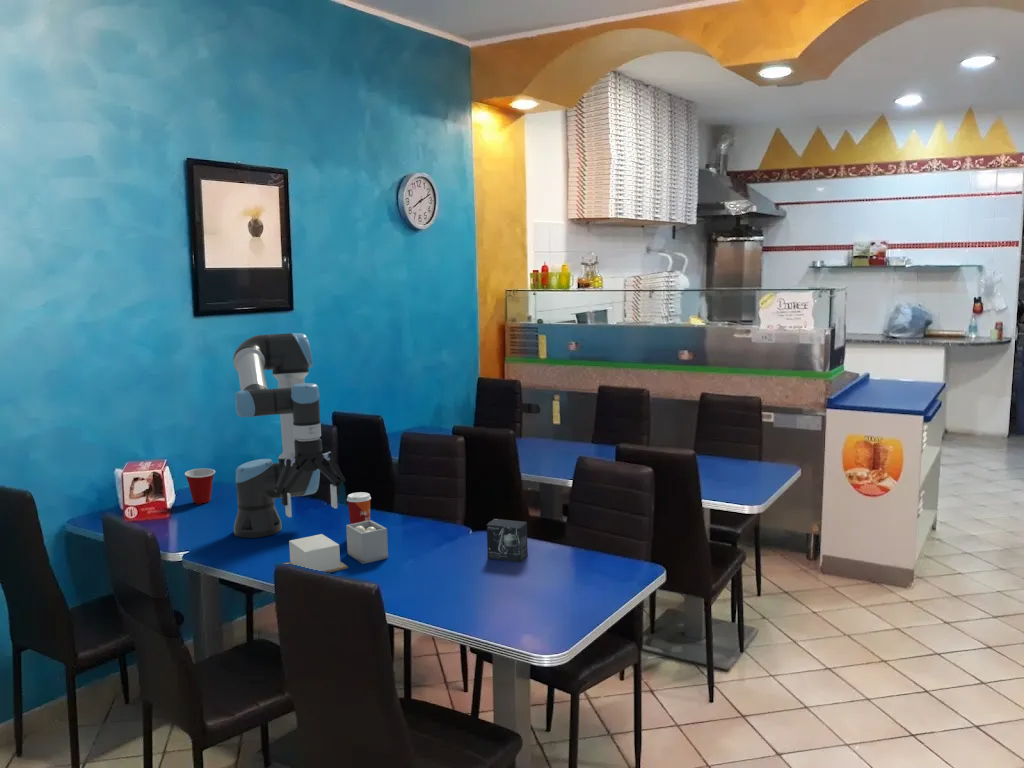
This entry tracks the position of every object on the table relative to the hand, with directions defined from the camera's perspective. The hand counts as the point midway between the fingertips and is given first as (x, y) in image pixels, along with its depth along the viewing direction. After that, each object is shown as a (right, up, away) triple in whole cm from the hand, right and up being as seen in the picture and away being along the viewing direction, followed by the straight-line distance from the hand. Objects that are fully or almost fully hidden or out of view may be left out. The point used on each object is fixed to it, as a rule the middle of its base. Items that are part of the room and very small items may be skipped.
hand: (311, 511), depth 237 cm
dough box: (+14, -15, +10) cm, 23 cm away
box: (+56, -15, +6) cm, 58 cm away
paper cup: (+9, -13, +28) cm, 32 cm away
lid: (+1, -16, +2) cm, 16 cm away
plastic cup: (-59, -8, +76) cm, 97 cm away
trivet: (0, -16, +2) cm, 16 cm away
